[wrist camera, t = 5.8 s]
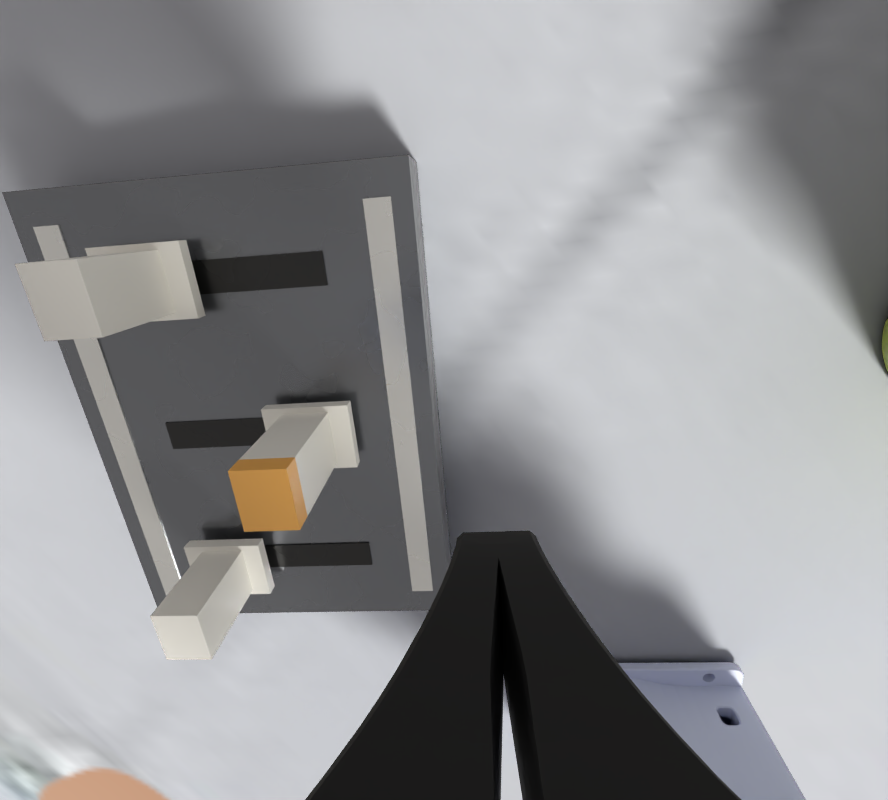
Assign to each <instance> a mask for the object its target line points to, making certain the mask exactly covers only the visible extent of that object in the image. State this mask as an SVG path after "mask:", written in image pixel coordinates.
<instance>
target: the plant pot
mask: <svg viewBox="0 0 888 800" xmlns="http://www.w3.org/2000/svg"><path fill="white" fill-rule="evenodd" d="M882 352H883V359H884V362H885V366H886V369H887V372H888V319H887V320H886V322H885V325H884V329H883V336H882Z"/></svg>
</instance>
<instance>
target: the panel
mask: <svg viewBox="0 0 888 800" xmlns="http://www.w3.org/2000/svg"><path fill="white" fill-rule="evenodd" d="M2 193H3V196H4V198H5V201H6V204H7V206H8V209H9V212H10V215H11V217H12V220H13V223H14V225H15V228H16V231H17V233H18V236H19V239H20V241H21V244H22V247H23V249H24V252H25V255H26V257H27V260H28V262H37V261H46V260H56V259H65V258H74V257H83V256H87V253H86V250H85V248H93V247H105V246H117V245H129V244H142V243H154V242H166V241H179V240H186V241H187V245H188V249H189V253H190V257H191V261H192V265H193V269H194V272H195V276H196V280H197V284H198V288H199V292H200V296H201V300H202V304H203V308H204V311H205V315H206V316H204V317H201V318H197V319H182V320H168V321H153V322H148V323H145V324H142V325H139V326H136V327H133V328H130V329H127V330H124V331H121V332H118V333H115V334H112V335H109V336H106V337H101V338H86V339H71V340H58V343H59V345H60V348H61V351H62V353H63V356H64V359H65V361H66V364H67V367H68V370H69V372H70V375H71V378H72V380H73V383H74V386H75V388H76V391H77V394H78V396H79V399H80V402H81V404H82V407H83V410H84V412H85V415H86V418H87V420H88V423H89V426H90V428H91V431H92V434H93V436H94V439H95V442H96V444H97V447H98V450H99V452H100V455H101V458H102V460H103V463H104V466H105V468H106V471H107V474H108V476H109V479H110V482H111V484H112V487H113V490H114V492H115V495H116V498H117V500H118V503H119V506H120V508H121V511H122V514H123V516H124V519H125V522H126V525H127V527H128V530H129V533H130V535H131V538H132V541H133V543H134V546H135V549H136V551H137V554H138V557H139V559H140V562H141V565H142V567H143V570H144V573H145V575H146V578H147V581H148V583H149V586H150V589H151V591H152V594H153V597H154V599H155V602H156V605H157V607H158V606H159V605H160V603H161V602H162V601H163V600H164V598H165V597H166V596H167V595H168V593H169V592H170V591H171V590H172V588H173V587H174V586H175V585H176V584H177V582H178V581H179V580H180V579H181V577H182V576H183V575H184V574H185V572H186V571H187V570H188V569H189V567H190V565H189V562H188V559H187V556H186V553H185V550H184V547H185V545H186V544H187V543H188V542H189V541H191V540H226V539H261V538H263V542H264V546H265V550H266V554H267V558H268V562H269V565H270V569H271V573H272V577H273V581H274V585H275V587H274V588H273V590H272V592H271V594H250V595H249V597H248V599H247V601H246V602H245V604H244V606H243V607H242V609H241V611H240V613H274V612H337V611H401V610H430V607H431V605H432V603H433V601H434V599H435V597H436V595H437V593H438V591H439V589H440V586H441V584H442V582H443V579H444V577H445V575H446V572H447V570H448V567H449V565H450V562H451V552H450V540H449V529H448V517H447V506H446V494H445V483H444V471H443V460H442V448H441V437H440V425H439V414H438V403H437V391H436V380H435V368H434V357H433V345H432V334H431V322H430V311H429V299H428V288H427V276H426V265H425V253H424V242H423V231H422V219H421V208H420V196H419V185H418V173H417V162H416V161H415V160H414V159H413V158H411V157H410V156H409V155H400V156H389V157H379V158H368V159H357V160H346V161H336V162H325V163H314V164H303V165H292V166H282V167H271V168H260V169H249V170H239V171H228V172H217V173H206V174H195V175H185V176H174V177H163V178H152V179H141V180H131V181H120V182H109V183H98V184H88V185H77V186H66V187H55V188H44V189H34V190H23V191H12V192H2ZM334 401H350V402H351V408H352V415H353V421H354V427H355V434H356V440H357V446H358V453H359V459H360V462H359V464H358V467H352V468H334V469H333V471H332V473H331V474H330V476H329V478H328V480H327V482H326V484H325V485H324V487H323V489H322V491H321V493H320V495H319V496H318V498H317V500H316V502H315V504H314V505H313V507H312V509H311V511H310V513H309V515H308V516H307V518H306V520H305V522H304V524H303V526H302V527H301V529H300V530H287V531H253V532H244V529H243V526H242V522H241V518H240V514H239V511H238V507H237V503H236V500H235V496H234V492H233V489H232V485H231V481H230V478H229V474H228V470H229V469H230V468H231V467H232V466H233V465H234V464H235V463H236V462H237V461H238V460H239V459H240V458H241V457H242V456H243V455H244V454H245V453H246V452H247V451H248V450H249V448H250V447H251V446H252V445H253V444H254V443H255V442H256V441H257V440H258V439H259V438H260V437H261V436H262V435H263V434H264V433H265V432H266V430H265V426H264V421H263V417H262V413H261V409H262V408H263V407H264V406H265V405H276V404H295V403H314V402H334Z"/></svg>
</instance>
